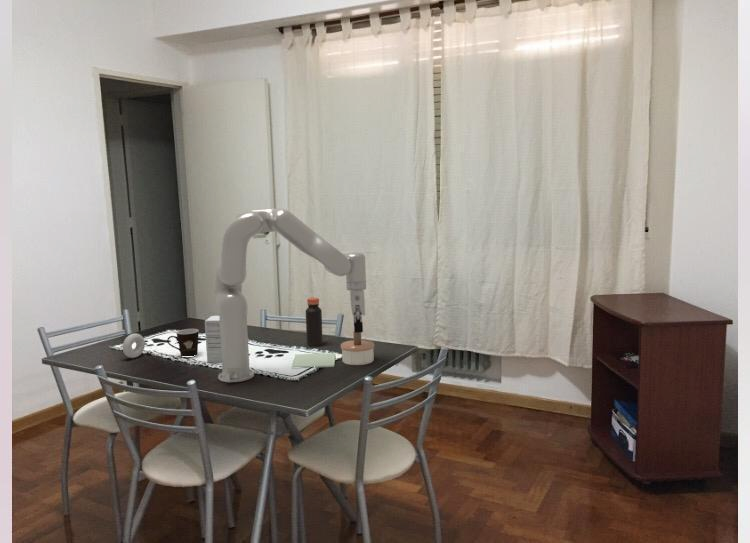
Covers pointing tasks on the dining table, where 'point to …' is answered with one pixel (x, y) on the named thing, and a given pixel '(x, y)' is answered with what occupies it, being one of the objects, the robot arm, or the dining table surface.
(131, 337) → the donut
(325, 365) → the mat
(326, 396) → the dining table surface
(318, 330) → the bottle
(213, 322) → the supplement box
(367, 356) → the bowl
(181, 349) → the coffee mug
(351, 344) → the lid
